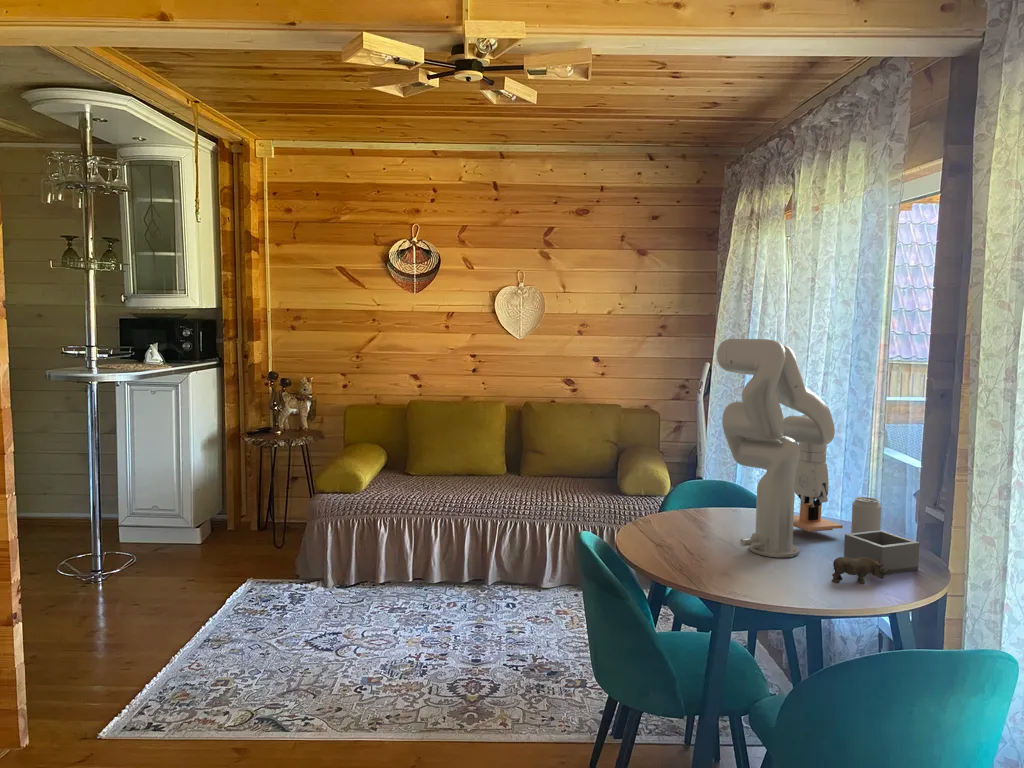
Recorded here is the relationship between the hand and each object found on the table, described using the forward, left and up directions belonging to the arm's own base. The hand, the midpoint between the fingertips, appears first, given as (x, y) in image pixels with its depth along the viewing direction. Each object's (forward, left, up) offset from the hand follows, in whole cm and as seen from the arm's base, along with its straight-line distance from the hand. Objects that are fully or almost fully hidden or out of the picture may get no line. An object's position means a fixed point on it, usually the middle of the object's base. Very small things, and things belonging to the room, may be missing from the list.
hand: (809, 518), depth 213 cm
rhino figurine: (-17, -36, -5) cm, 40 cm away
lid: (0, 0, -3) cm, 3 cm away
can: (+11, -10, -5) cm, 16 cm away
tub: (-3, -29, -5) cm, 29 cm away
